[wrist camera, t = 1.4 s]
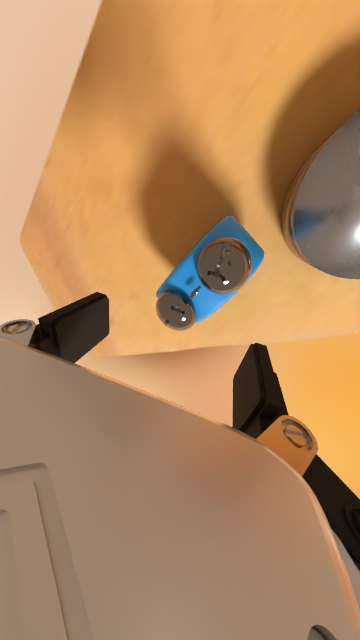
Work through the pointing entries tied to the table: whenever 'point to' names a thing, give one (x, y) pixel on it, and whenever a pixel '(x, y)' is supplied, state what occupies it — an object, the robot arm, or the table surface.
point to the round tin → (327, 205)
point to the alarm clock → (208, 275)
